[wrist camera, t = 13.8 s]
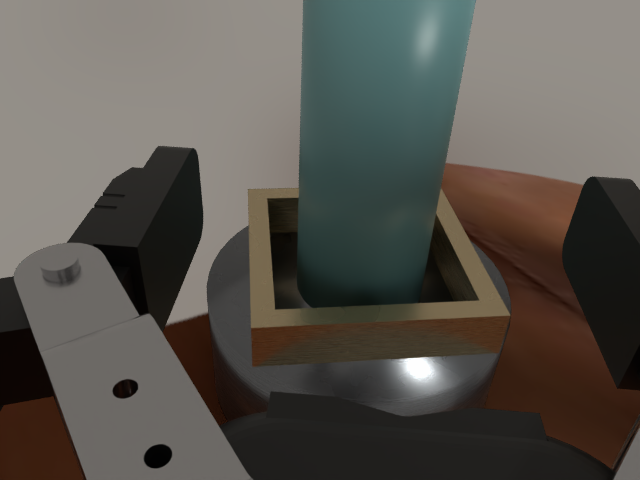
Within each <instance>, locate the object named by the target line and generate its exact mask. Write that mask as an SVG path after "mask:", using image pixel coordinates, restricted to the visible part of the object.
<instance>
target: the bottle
mask: <svg viewBox="0 0 640 480" xmlns="http://www.w3.org/2000/svg"><path fill="white" fill-rule="evenodd" d="M475 3H476V0H303V32H302V76H301V116H300V120H301V121H300V157H299V158H300V160H299V199H298V241H297V287H298V291H299V293H300V295H301V296H302V298H303V299H304V301H305V302H306V303H307V304H308V305H309V306H310V307H312V308H325V307H347V306H369V305H392V304H414V303H417V302H418V301H419V299H420V296H421V291H422V286H423V280H424V275H425V270H426V264H427V259H428V254H429V248H430V243H431V238H432V232H433V227H434V222H435V216H436V211H437V206H438V200H439V195H440V190H441V184H442V179H443V174H444V168H445V163H446V157H447V152H448V147H449V141H450V136H451V131H452V125H453V120H454V115H455V109H456V104H457V99H458V93H459V88H460V83H461V77H462V72H463V67H464V61H465V56H466V51H467V45H468V40H469V34H470V29H471V24H472V18H473V13H474V8H475Z"/></svg>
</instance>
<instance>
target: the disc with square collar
mask: <svg viewBox="0 0 640 480" xmlns="http://www.w3.org/2000/svg"><path fill="white" fill-rule="evenodd" d="M298 199H299V188H278V189H248V206H249V207H248V210H249V225H248V226H247V227H246V228H244V229H243V230H241V231H240V232H238V233H237V234H236V235H235V236H234V237H233V238H231V239H230V240H229V241H228V242H227V243H226V245H225V246H224V247H223V248H222V249H221V250H220V252H219V254H218V255H217V257H216V259H215V260H214V262H213V264H212V267H211V270H210V273H209V276H208V282H207V302H208V313H209V323H210V334H211V344H212V355H213V365H214V376H215V386H216V391H217V396H218V400H219V403H220V406H221V408H222V411H223V413H224V416H225V417H226V419H227V421H228V422H229V421H232V420H234V419H237V418H240V417H243V416H247V415H251V414H255V413H261V412H267V409H268V403H269V398H270V392H271V391H273V392H286V393H298V394H310V395H322V396H335V397H339V398H342V399H346V400H349V401H352V402H356V403H359V404H362V405H366V406H369V407H372V408H376V409H379V410H382V411H386V412H389V413H392V414H396V415H400V416H407V417H408V416H417V415H425V414H432V413H439V412H446V411H453V410H460V409H467V408H482V409H483V408H484V405H485V402H486V399H487V396H488V392H489V389H490V386H491V383H492V380H493V377H494V373H495V370H496V367H497V364H498V361H499V358H500V354H501V351H502V348H503V345H504V342H505V339H506V335H507V332H508V329H509V326H510V318H511V302H510V297H509V293H508V289H507V286H506V284H505V282H504V280H503V278H502V275H501V274H500V272H499V271H498V269H497V268H496V266H495V265H494V263H493V262H492V261H491V260H490V259H489V258H488V257H487V255H486V254H485V253H484V252H483V251H482V250H481V249H479V248H478V247H477V246H476V245H475V244H474V243H473V242H471V241H470V240H469V238H468V236H467V235H466V233H465V231H464V229H463V227H462V225H461V224H460V222H459V220H458V218H457V216H456V214H455V213H454V211H453V209H452V207H451V205H450V203H449V202H448V200H447V198H446V196H445V194H444V192H443V191H442V189H441V190H440V195H439V200H438V206H437V211H436V216H435V222H434V227H433V232H432V238H431V243H430V248H429V254H428V259H427V264H426V270H425V275H424V280H423V286H422V291H421V296H420V299H419V301H418V302H417V303H414V304H392V305H369V306H347V307H325V308H312V307H310V306H309V305H308V304H307V303H306V302H305V301H304V299H303V298H302V296H301V295H300V293H299V291H298V287H297V241H298Z"/></svg>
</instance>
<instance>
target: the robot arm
mask: <svg viewBox="0 0 640 480" xmlns="http://www.w3.org/2000/svg"><path fill="white" fill-rule="evenodd" d="M94 206H95V207H94V208H92V209H91V210H90V212H89V213H88V214H87V216H86V217H85V219H84V220H83V221H82V223H81V224H80V225H79V227H78V228H77V230H76V231H75V232H74V234H73V235H72V236H71V238H70V239H69V241H68V242H67V243H63V244H57V245H53V246H49V247H46V248H43V249H41V250H39V251H36V252H34V253H33V254H31V255H29V256H28V257H27V258H25V259H24V260H23V261H22V262H21V263H20V264H19V265H18V267H17V268H16V271H15V273H14V276H13V277H7V278H1V279H0V411H1V409H2V407H3V405H7V404H13V403H18V402H24V401H29V400H35V399H40V398H45V397H51V396H54V399H55V402H56V405H57V408H58V410H59V413H60V416H61V419H62V422H63V424H64V427H65V430H66V433H67V436H68V438H69V441H70V444H71V447H72V450H73V452H74V455H75V458H76V461H77V464H78V466H79V469H80V472H81V475H82V478H83V480H640V413H639V415H638V417H637V419H636V421H635V423H634V425H633V427H632V429H631V431H630V432H629V434H628V436H627V438H626V440H625V442H624V444H623V446H622V448H621V450H620V452H619V454H618V456H617V458H616V459H615V461H614V463H613V465H612V467H611V469H610V468H609V467H607V466H606V465H605V464H603V463H602V462H600V461H599V460H597V459H596V458H594V457H592V456H591V455H589V454H587V453H586V452H584V451H582V450H580V449H578V448H576V447H574V446H572V445H570V444H567V443H565V442H562V441H560V440H557V439H555V438H552V437H549V436H546V434H545V430H544V427H543V423H542V420H541V417H540V413H531V412H519V411H506V410H494V409H482V408H467V409H460V410H453V411H446V412H439V413H432V414H425V415H417V416H408V417H407V416H400V415H396V414H392V413H389V412H386V411H382V410H379V409H376V408H372V407H369V406H366V405H362V404H359V403H356V402H352V401H349V400H346V399H342V398H339V397H335V396H322V395H310V394H298V393H286V392H273V391H271V392H270V398H269V403H268V409H267V412H261V413H255V414H251V415H247V416H243V417H240V418H237V419H234V420H232V421H229V422H226V423H224V424H222V425H220V426H218V424H217V422H216V421H215V419H214V417H213V416H212V414H211V413H210V411H209V409H208V408H207V406H206V404H205V403H204V401H203V399H202V398H201V396H200V394H199V393H198V391H197V389H196V388H195V386H194V384H193V383H192V381H191V379H190V378H189V376H188V374H187V373H186V371H185V369H184V368H183V366H182V365H181V363H180V361H179V360H178V358H177V356H176V355H175V353H174V351H173V350H172V348H171V346H170V345H169V343H168V341H167V340H166V338H165V336H164V335H163V330H164V328H165V325H166V323H167V320H168V318H169V315H170V313H171V311H172V308H173V305H174V303H175V300H176V298H177V296H178V293H179V291H180V289H181V286H182V284H183V281H184V279H185V276H186V274H187V271H188V269H189V267H190V264H191V262H192V259H193V256H194V254H195V252H196V249H197V247H198V244H199V241H200V238H201V235H202V229H203V206H202V195H201V183H200V173H199V161H198V155H197V152H196V150H195V149H194V148H182V147H167V146H158V147H157V148H156V150H155V151H154V153H153V154H152V156H151V157H150V158H149V160H148V161H147V163H146V165H145V166H144V168H134V167H132V168H130V169H129V170H127V171H125V172H124V173H122V174H121V175H119V176H117V177H116V178H115V179H113V180H112V181H111V183H110V184H109V186H108V187H107V188H106V190H105V191H104V192H103V196H101V197H100V198H99V199H98V201H97V202H96V203H95V205H94ZM562 259H563V266H564V269H565V272H566V274H567V276H568V278H569V281H570V283H571V285H572V288H573V290H574V292H575V294H576V297H577V299H578V301H579V303H580V306H581V308H582V310H583V312H584V315H585V317H586V319H587V321H588V324H589V326H590V328H591V330H592V333H593V335H594V337H595V339H596V342H597V344H598V346H599V348H600V351H601V353H602V355H603V357H604V360H605V362H606V364H607V366H608V369H609V371H610V373H611V375H612V378H613V380H614V382H615V385H616V387H617V389H630V390H640V190H639V189H638V187H637V186H636V184H635V183H634V182H633V181H632V180H630V179H620V178H607V177H590V178H588V179H587V181H586V182H585V184H584V186H583V188H582V191H581V194H580V196H579V199H578V202H577V205H576V208H575V211H574V214H573V217H572V219H571V222H570V225H569V228H568V231H567V234H566V237H565V240H564V244H563V251H562Z"/></svg>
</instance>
